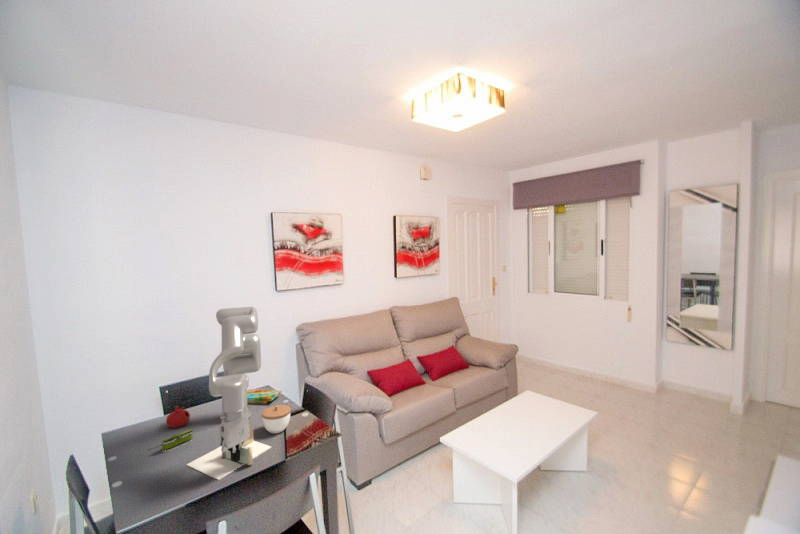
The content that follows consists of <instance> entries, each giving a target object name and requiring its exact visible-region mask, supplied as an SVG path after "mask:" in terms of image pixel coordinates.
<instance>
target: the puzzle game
mask: <svg viewBox="0 0 800 534" xmlns="http://www.w3.org/2000/svg"><path fill="white" fill-rule="evenodd" d="M282 392H283V391H282V390H279V389H278V390H276V389H260V388H258V389H257V388H256V389H253V388H249V389H247V402H248V404H257V405H260V404H263V405H267V404H268V403H269V402H272V401H273V400H275V399H276V398H277V397H278V396H279V395H280V394H282Z"/></svg>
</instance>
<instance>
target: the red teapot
mask: <svg viewBox="0 0 800 534" xmlns="http://www.w3.org/2000/svg"><path fill="white" fill-rule="evenodd" d="M185 407H186V406H185ZM185 407H184V406H183V407H181V408H179V406H178V405H176V406H175V407H174V409H175V410H170V411H169V414H168V415H167V416H166V419H165V422H166V424H167V427H169V428H172V429H177V427H178V428H181V427H184V426H185V425H186V424H188V423H189V421H190V418H191V413H190V412H189V411H188V410H187V409H186V408H185ZM170 412H171V413H170Z"/></svg>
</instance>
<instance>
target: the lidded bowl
mask: <svg viewBox="0 0 800 534" xmlns="http://www.w3.org/2000/svg"><path fill="white" fill-rule="evenodd" d="M261 418H262V419H261V420H262V424H263V427H264V428H265V430H266V431H268V432H269V434H271V435H272V434H279V433H283V432H284V431H285V430H286V428H287V427H288V425H289V424H290V422H291V421H290V420H291V407H290V406H288V405H285V404H279V405H278V404H276V405H271V406H269V407H267V408H264V410H262V411H261Z"/></svg>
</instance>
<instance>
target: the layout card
mask: <svg viewBox="0 0 800 534" xmlns="http://www.w3.org/2000/svg"><path fill="white" fill-rule="evenodd" d="M246 447H252V455H253V460H254V459H256V458H257V457H259V456H260V455H262V454H264V453H265V452H267V451H268V450H270V449H272V446H271V445H268V444H265V443H262V442H259V441H256V440H254V442H252V443H250V444H249V445H247V446H246ZM221 448H222V446H221V445H220V446H218V447H217V448H215V449H213V450H211V451H210V452H207V453H206V454H204V455H202V456H200V457H198V458H196V459H194V460H192V461H190V462H188V463H187V464H186V466H187V467H189V468H190V469H193V470H196V471H198V472H200V473H202V474H204V475H207V476H209V477H211V478H213V479H215V480H217V481H221V480H222V479H223V478H225V477H227V476H228V475H230V474H232V473H233V472H234V470H235V471H236V470H237V468H238V469H239V468H241V467H243V466H244V465H245V463H242V462H233V461H232V460H231V459H228V458H222V451H221ZM242 465H243V466H242Z"/></svg>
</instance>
